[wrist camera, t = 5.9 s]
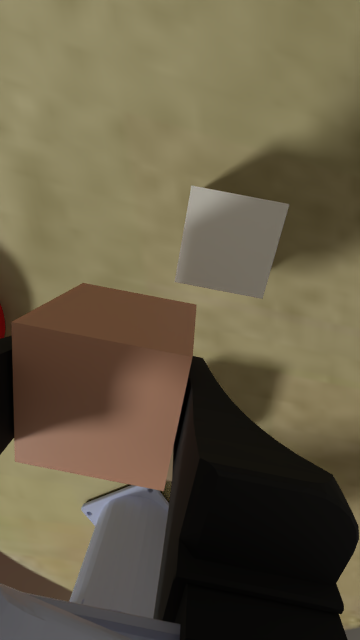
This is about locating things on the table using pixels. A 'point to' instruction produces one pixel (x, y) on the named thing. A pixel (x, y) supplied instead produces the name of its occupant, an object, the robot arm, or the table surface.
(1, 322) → the decorative ornament
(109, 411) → the terracotta cube
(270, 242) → the cream cube
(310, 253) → the table surface
